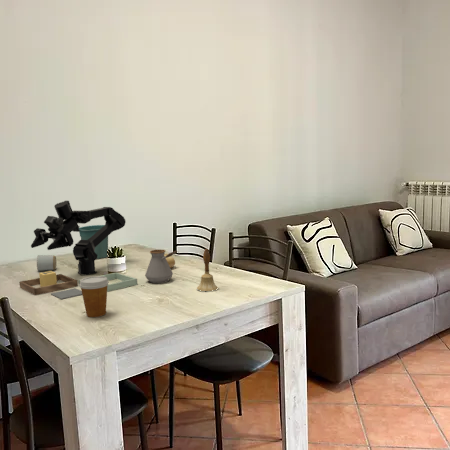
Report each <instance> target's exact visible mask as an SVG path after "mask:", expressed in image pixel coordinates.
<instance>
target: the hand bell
mask: <svg viewBox="0 0 450 450" xmlns="http://www.w3.org/2000/svg"><path fill="white" fill-rule="evenodd" d="M202 258H203V263H204V274H202V275H201V277H200V282H199V285H198V286H197V287H196V290H197V289H198V290H201V291H212V290H216V289H217V288H218V289H219V287H218V286H217V285H216V283H215V281H214V276H213V275H212V273H210V261H211V255H210V251H209V249H208V248H205V249H204V251H203V257H202ZM218 289H217V290H218ZM198 290H197V291H198ZM217 290H216V291H217ZM201 291H200V292H201ZM212 292H213V291H212Z"/></svg>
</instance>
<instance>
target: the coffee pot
mask: <svg viewBox="0 0 450 450" xmlns="http://www.w3.org/2000/svg"><path fill="white" fill-rule="evenodd" d="M149 253H150V255H151V258H150V260H149V263H148V266H147V269H146V271H145V275H144V276H145V278H146V279H147V281H149V282H150V283H152V284H163V283H168V282H169V281H170V280H171V279H172V278H173V275H174V273H173V271H172V268H170V266H169V264H168V262H167V260H166V258H167V257H170V256H172V257H173V256H176V257H178V256H179V254H180V251H178V250H174V251H172V252H170V253H167V254H168V255H166V256H164V254H166V250H165V249H153V250H150V251H149ZM177 253H178V255H176V254H177Z"/></svg>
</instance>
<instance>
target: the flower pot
mask: <svg viewBox="0 0 450 450" xmlns="http://www.w3.org/2000/svg"><path fill="white" fill-rule="evenodd" d="M104 225H105V224H96V225H95V224H93V225H92V224H91V225H85V226H81V227H80V226H79V229H80V230H79V237H80V240H88V239H89V238H91V237H92V236H93V235H94V234H95V233H96V232H97V231H99V230H100V229H101V228H102V227H103V226H104ZM107 250H108V251H109V235H108V236H107V237H106V238H105V239H104V240H103V241H102V242H101V243H100V244H98V245H97V246H96V247H95V253H96V254H97V255H98V256H97V260H100V259H102V258H103V259H105V258H107V257H108V256H107Z"/></svg>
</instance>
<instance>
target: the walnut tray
mask: <svg viewBox="0 0 450 450" xmlns="http://www.w3.org/2000/svg"><path fill="white" fill-rule="evenodd" d="M56 280H57V281H60V282H59V283H57V284H54V285H49V286H44V287H34V286H37V285H40V277H37V278H31V279H26V280H22V281H19V289H22V290H24V291H26V292H27V293H30V294H31V295H34V296H37V295H43V294H47V293H54V292H58V291H63V290H65V289H66V290H68V289H73V288H77V287H78V286H79V282H78V280H77V279H76V278H72V277H70V276H66V275H65V274H62V273H58V274H57V273H56ZM61 281H62V282H61Z"/></svg>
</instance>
